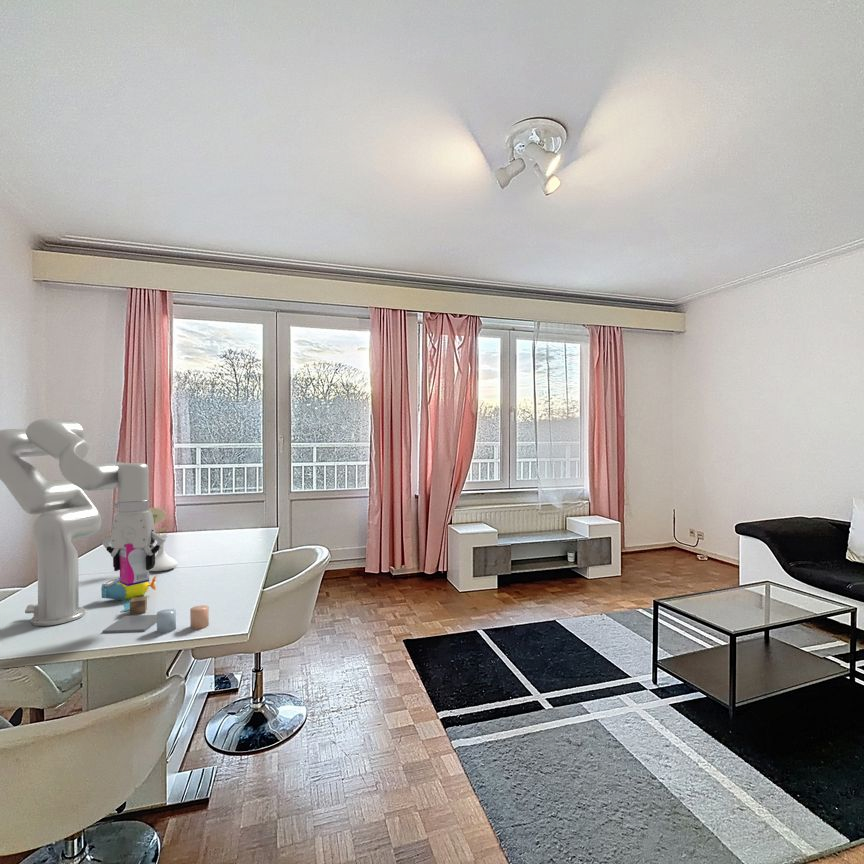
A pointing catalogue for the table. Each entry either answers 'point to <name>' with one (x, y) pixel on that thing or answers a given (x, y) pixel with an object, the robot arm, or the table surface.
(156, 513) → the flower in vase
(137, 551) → the supplement box
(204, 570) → the table surface
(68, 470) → the robot arm
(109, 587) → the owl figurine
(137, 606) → the walnut block
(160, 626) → the pale blue dome knob
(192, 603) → the table surface
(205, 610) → the peach dome cap
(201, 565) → the table surface
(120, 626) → the coaster
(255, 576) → the table surface
